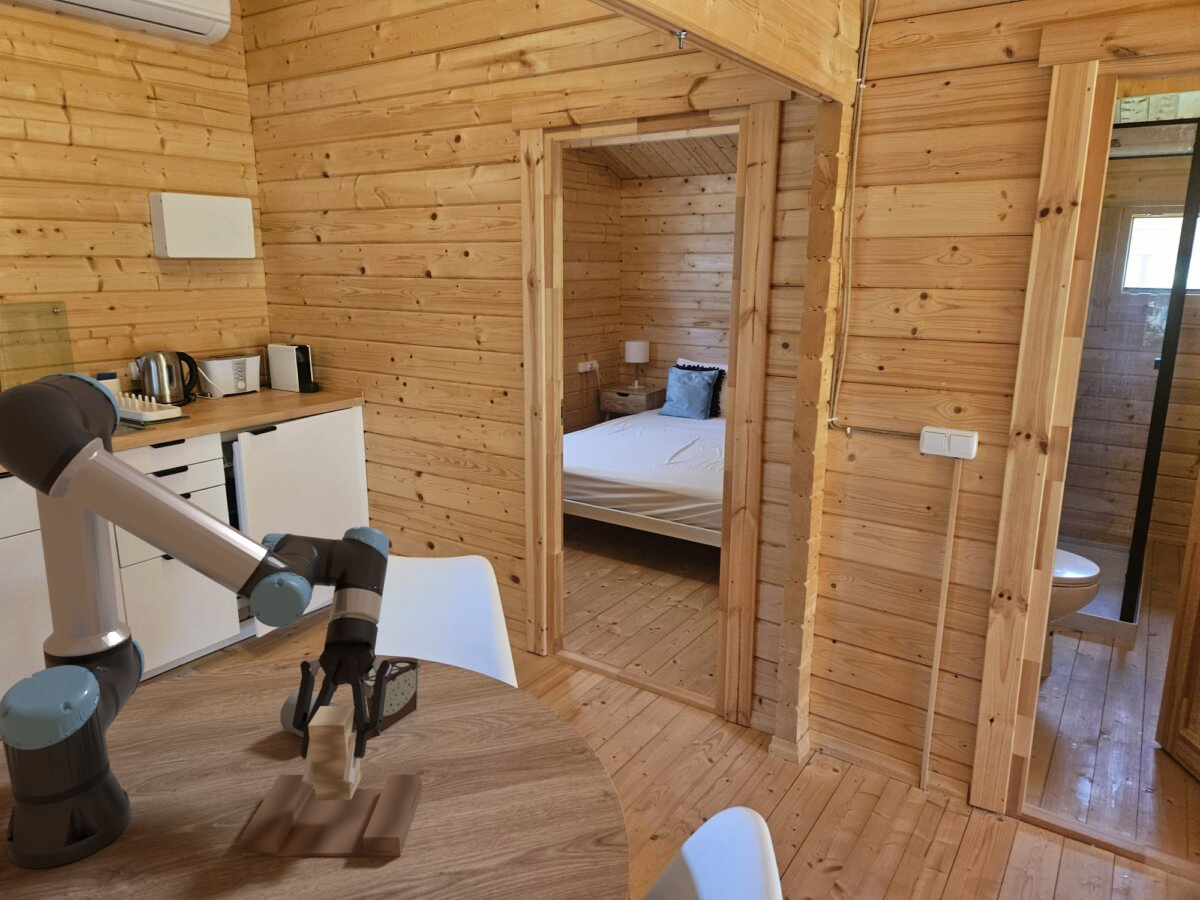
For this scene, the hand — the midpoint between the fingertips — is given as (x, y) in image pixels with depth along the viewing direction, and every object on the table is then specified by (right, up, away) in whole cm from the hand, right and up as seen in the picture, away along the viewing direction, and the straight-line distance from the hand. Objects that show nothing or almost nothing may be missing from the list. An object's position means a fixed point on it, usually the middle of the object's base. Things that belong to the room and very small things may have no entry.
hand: (328, 782), depth 113 cm
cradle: (-1, -8, +6) cm, 10 cm away
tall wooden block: (0, -3, +4) cm, 5 cm away
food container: (-1, -2, +33) cm, 33 cm away
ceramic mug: (-11, -3, +29) cm, 31 cm away
